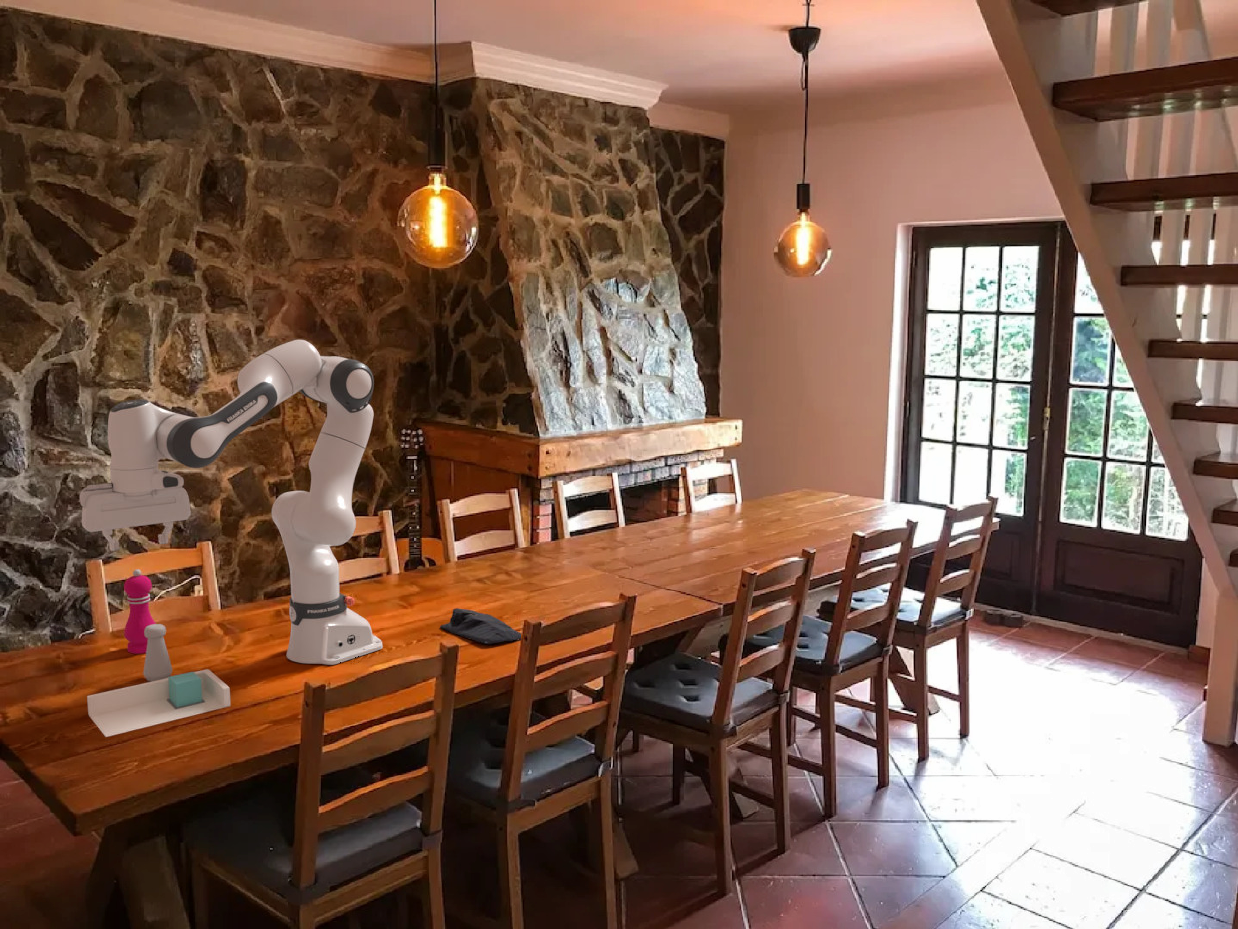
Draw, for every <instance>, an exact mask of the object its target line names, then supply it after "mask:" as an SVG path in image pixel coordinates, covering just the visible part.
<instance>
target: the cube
mask: <svg viewBox="0 0 1238 929" xmlns="http://www.w3.org/2000/svg"><path fill="white" fill-rule="evenodd" d="M194 672H195V671H190V672H185V673H180V674H175V675H170V677H168V679H169V696H170V700H171V701H172V702H173V703H174V704H175V705H176V706H177V707H180V706H185V705H189V704H193V703H197V702H201V701H202V690H201V678H200V677H198V676H197V675H196V674H195V673H194Z"/></svg>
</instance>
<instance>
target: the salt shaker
mask: <svg viewBox="0 0 1238 929" xmlns="http://www.w3.org/2000/svg"><path fill="white" fill-rule="evenodd" d="M166 632H167V628H166V626H165V625H163V624H161V623H156V624H153V625H149V626H147V627H146V628H145V630H144V634H145V637H146V638H148V643H147V651H146V653H145V658H144V666H143V672H142V674H143V677H144V678H145V679H146V681H147V682H152V681H157V680H161V679H166V678H168V677H171V676H172V672H173V667H172V664H171V660H170V655H169V653H168V649H167V645H166V642H165V638H164V636H165V635H166Z"/></svg>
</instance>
